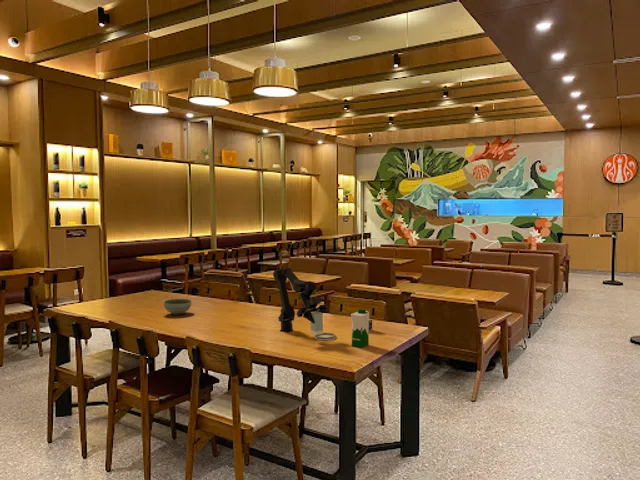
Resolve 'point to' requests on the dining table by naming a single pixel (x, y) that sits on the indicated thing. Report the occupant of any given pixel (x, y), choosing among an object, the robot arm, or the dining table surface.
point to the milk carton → (360, 328)
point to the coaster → (325, 336)
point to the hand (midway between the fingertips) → (318, 322)
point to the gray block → (317, 323)
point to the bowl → (177, 306)
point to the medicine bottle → (369, 322)
